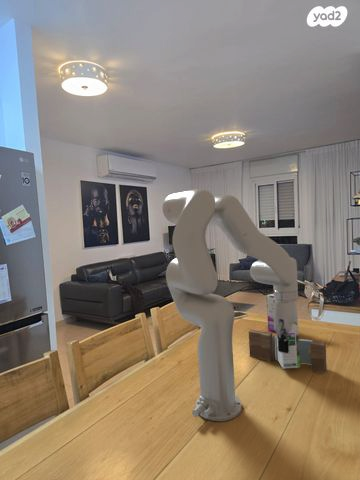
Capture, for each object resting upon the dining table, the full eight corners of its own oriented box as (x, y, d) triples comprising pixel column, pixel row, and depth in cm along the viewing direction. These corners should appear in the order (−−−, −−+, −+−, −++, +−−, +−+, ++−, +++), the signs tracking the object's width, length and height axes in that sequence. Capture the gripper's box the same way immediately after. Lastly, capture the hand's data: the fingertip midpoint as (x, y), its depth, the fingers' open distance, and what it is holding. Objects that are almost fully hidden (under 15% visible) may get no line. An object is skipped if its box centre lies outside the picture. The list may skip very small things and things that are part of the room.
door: (313, 365, 105) (312, 341, 105) (272, 361, 111) (271, 337, 110) (313, 363, 107) (312, 338, 107) (273, 358, 113) (272, 335, 112)
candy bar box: (296, 334, 135) (295, 296, 133) (289, 337, 132) (288, 299, 130) (274, 327, 144) (272, 292, 142) (267, 330, 141) (265, 294, 139)
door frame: (324, 374, 100) (323, 345, 100) (249, 356, 116) (247, 331, 116) (326, 370, 103) (325, 342, 102) (252, 353, 119) (251, 329, 118)
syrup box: (282, 369, 102) (280, 325, 101) (277, 360, 108) (275, 319, 107) (300, 368, 102) (298, 324, 101) (294, 359, 108) (292, 318, 106)
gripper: (283, 288, 112) (285, 336, 113) (264, 300, 98) (266, 355, 100) (305, 290, 108) (307, 340, 109) (288, 303, 94) (290, 360, 95)
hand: (287, 347), depth 104 cm, fingers closed on syrup box, 7 cm apart
